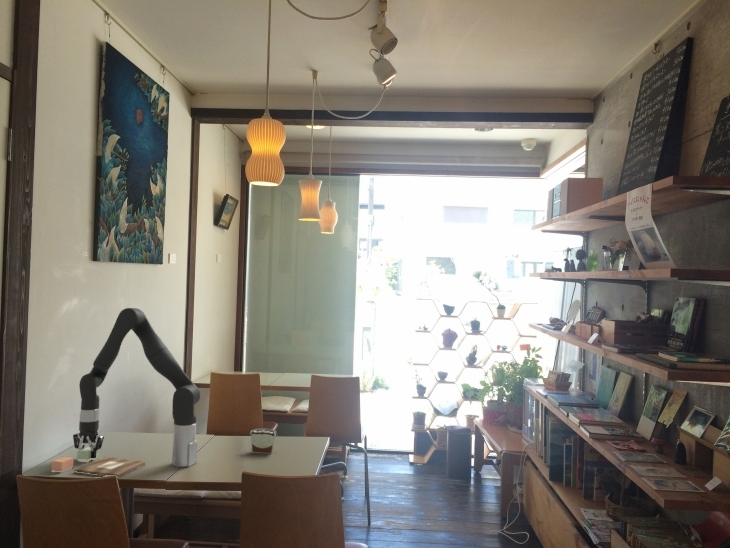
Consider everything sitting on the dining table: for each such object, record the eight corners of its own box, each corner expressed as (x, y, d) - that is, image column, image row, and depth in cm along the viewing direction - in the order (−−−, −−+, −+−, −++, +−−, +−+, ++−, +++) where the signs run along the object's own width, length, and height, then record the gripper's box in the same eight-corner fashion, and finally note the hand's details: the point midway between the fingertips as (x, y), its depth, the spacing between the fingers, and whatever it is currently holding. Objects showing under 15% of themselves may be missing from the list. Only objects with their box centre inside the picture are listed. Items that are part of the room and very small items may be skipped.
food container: (278, 450, 251) (279, 428, 251) (274, 454, 245) (275, 432, 245) (253, 448, 252) (253, 427, 253) (248, 452, 246) (249, 430, 246)
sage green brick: (97, 458, 230) (97, 448, 230) (87, 462, 224) (87, 452, 224) (87, 457, 231) (87, 447, 231) (77, 461, 225) (77, 451, 225)
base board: (144, 465, 223) (145, 461, 223) (118, 478, 206) (118, 474, 207) (103, 460, 227) (103, 456, 227) (74, 473, 211) (74, 469, 211)
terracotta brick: (72, 468, 216) (73, 457, 216) (61, 473, 210) (62, 462, 210) (62, 467, 217) (63, 456, 217) (50, 472, 211) (51, 460, 212)
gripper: (109, 418, 230) (107, 458, 230) (81, 416, 233) (79, 455, 233) (97, 422, 223) (95, 463, 222) (68, 419, 226) (66, 460, 225)
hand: (87, 458), depth 227 cm, fingers closed on sage green brick, 5 cm apart
